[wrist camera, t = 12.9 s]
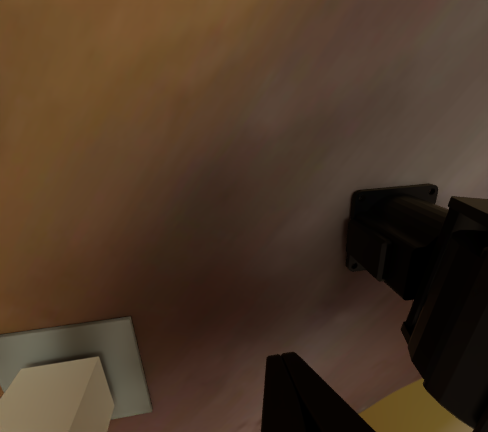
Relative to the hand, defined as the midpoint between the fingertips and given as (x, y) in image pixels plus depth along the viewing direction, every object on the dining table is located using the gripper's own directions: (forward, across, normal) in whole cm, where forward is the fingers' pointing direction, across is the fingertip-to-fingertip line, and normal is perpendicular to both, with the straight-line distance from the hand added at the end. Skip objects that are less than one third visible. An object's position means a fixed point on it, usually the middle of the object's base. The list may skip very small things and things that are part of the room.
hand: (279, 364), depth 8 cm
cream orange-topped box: (+11, +13, +12) cm, 21 cm away
